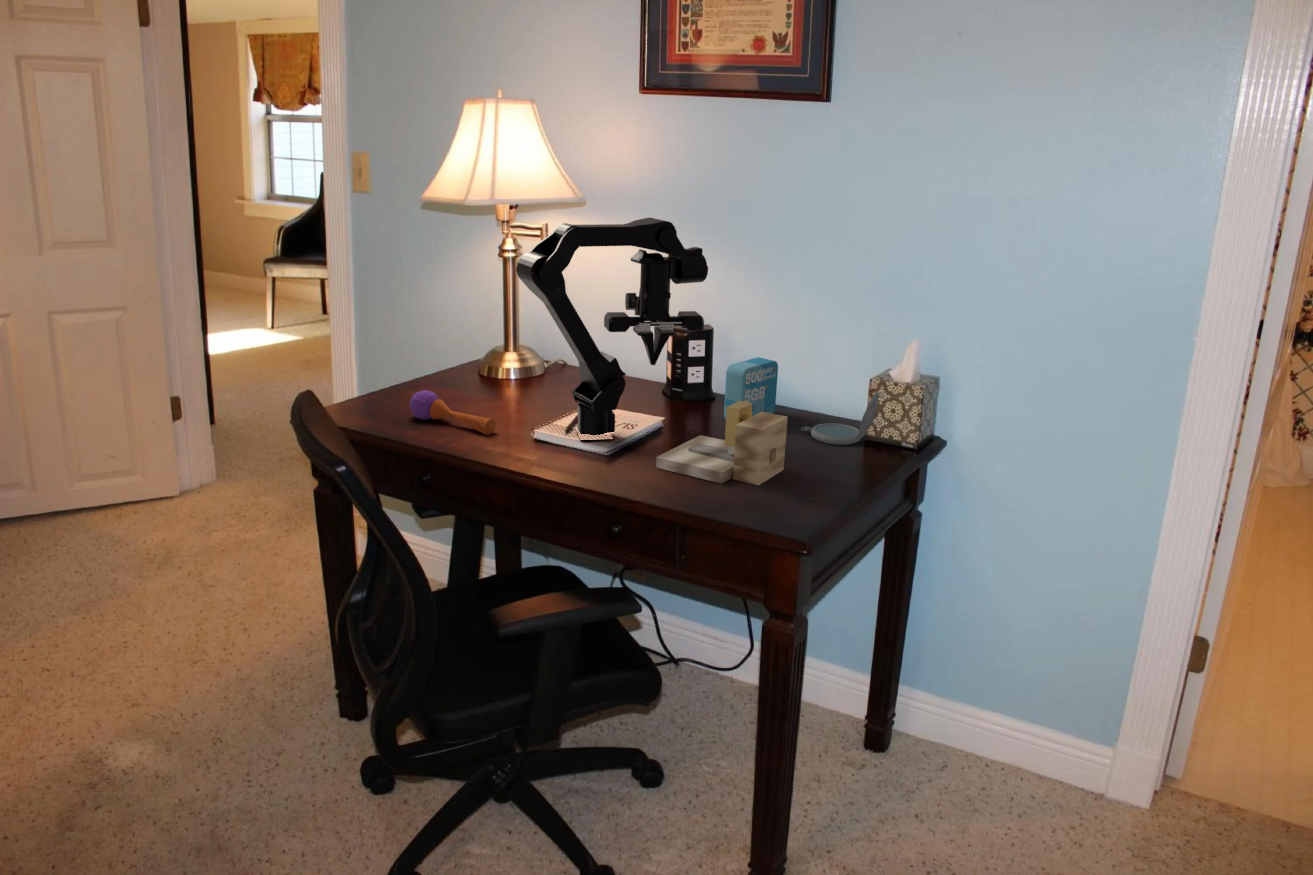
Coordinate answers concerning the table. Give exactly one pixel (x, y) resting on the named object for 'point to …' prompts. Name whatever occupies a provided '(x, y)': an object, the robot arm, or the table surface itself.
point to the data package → (752, 384)
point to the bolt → (735, 421)
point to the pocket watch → (845, 428)
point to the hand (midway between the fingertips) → (652, 364)
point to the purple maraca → (446, 412)
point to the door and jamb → (751, 461)
